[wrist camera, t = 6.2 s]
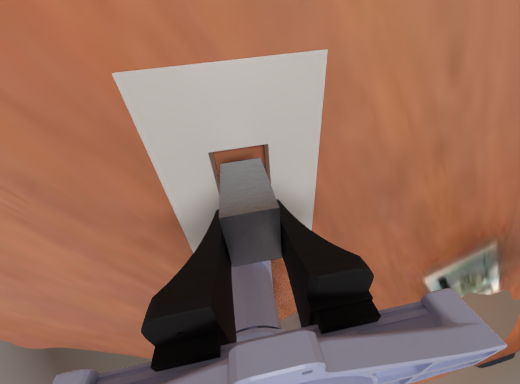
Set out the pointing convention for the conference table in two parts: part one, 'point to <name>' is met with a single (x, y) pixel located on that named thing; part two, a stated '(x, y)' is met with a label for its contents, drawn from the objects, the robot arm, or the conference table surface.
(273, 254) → the gray rectangular block
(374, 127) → the conference table surface
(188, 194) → the block
